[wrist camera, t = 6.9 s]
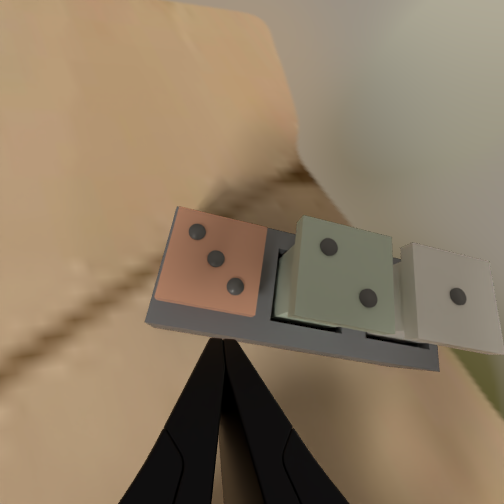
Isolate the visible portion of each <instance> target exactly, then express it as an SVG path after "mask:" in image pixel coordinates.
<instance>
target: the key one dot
mask: <svg viewBox="0 0 504 504" xmlns="http://www.w3.org/2000/svg"><path fill="white" fill-rule="evenodd" d="M393 284H394V312H395V334H389V335H381V334H375V333H370V332H366V336H367V337H372V338H378V339H383V340H389V341H394V342H400V343H429V344H434V345H440V346H445V347H450V348H456V349H462V350H467V351H472V352H478V353H483V354H493V355H496V354H497V355H504V344H503V338H502V332H501V327H500V320H499V315H498V309H497V303H496V297H495V291H494V284H493V279H492V273H491V267H490V261H486V260H482V259H478V258H473V257H470V256H466V255H462V254H458V253H454V252H450V251H445V250H441V249H437V248H434V247H430V246H426V245H421V244H418V243H413V242H412V243H410V244H408V245H405V246H403V247H401V262H399V263H397V264H394V265H393Z"/></svg>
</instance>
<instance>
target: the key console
mask: <svg viewBox="0 0 504 504" xmlns="http://www.w3.org/2000/svg"><path fill="white" fill-rule="evenodd" d="M178 209H179V207H177V208H176V212H175V215H174V219H173V223H172V226H171V230H170V233H169V237H168V240H167V244H166V248H165V251H164V255H163V258H162V262H161V266H160V269H159V273H158V276H157V280H156V283H155V287H154V291H153V294H152V298H151V301H150V305H149V309H148V312H147V316H146V319H145V323H147V324H149V325H150V326H152V327H154V328H160V329H166V330H172V331H178V332H184V333H190V334H196V335H202V336H208V337H214V338H222V339H225V338H227V339H235V340H236V341H238V342H244V343H250V344H256V345H262V346H268V347H274V348H280V349H286V350H292V351H298V352H304V353H310V354H317V355H323V356H329V357H335V358H341V359H347V360H353V361H359V362H365V363H371V364H377V365H383V366H389V367H397V368H407V369H417V370H428V371H438V372H440V371H439V359H438V347H437V345H434V344H429V343H400V342H394V341H389V340H383V341H379V340H374V339H368V338H365V337H366V332H364V331H359V330H354V329H348V328H343V327H335V332H330V331H324V330H319V329H313V328H308V327H302V326H297V325H291V324H286V323H280V322H275V321H270V318H271V310H272V302H273V293H274V285H275V277H276V269H277V260H278V259H279V258H281V257H282V256H283V255H284V254H285V253H286V252H287V251H288V250H289V249H290V248H291V247H292V246H293V245H294V244H295V237H296V234H291V233H287V232H283V231H279V230H274V229H270V228H267V235H266V242H265V249H264V256H263V263H262V271H261V278H260V285H259V292H258V299H257V306H256V313H255V316H253V317H247V316H242V315H236V314H231V313H225V312H219V311H214V310H208V309H203V308H197V307H192V306H186V305H181V304H175V303H170V302H165V301H159V300H156V299H155V297H154V296H155V292H156V289H157V285H158V282H159V278H160V274H161V271H162V267H163V263H164V260H165V256H166V253H167V249H168V245H169V242H170V238H171V234H172V231H173V227H174V224H175V220H176V216H177V213H178ZM399 262H401V259H397V258H393V265H394V264H397V263H399Z"/></svg>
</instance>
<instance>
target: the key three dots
mask: <svg viewBox="0 0 504 504" xmlns="http://www.w3.org/2000/svg"><path fill="white" fill-rule="evenodd" d="M267 228H268V227H265V226H260V225H256V224H252V223H248V222H244V221H239V220H235V219H231V218H227V217H222V216H218V215H214V214H210V213H206V212H201V211H197V210H193V209H189V208H184V207H180V206H179V209H178V213H177V216H176V220H175V224H174V227H173V231H172V234H171V238H170V242H169V245H168V249H167V253H166V256H165V260H164V263H163V267H162V271H161V274H160V278H159V282H158V285H157V289H156V292H155V296H154V297H155V299H156V300H159V301H165V302H170V303H175V304H181V305H186V306H192V307H197V308H203V309H208V310H214V311H219V312H225V313H231V314H236V315H242V316H247V317H253V316H255V313H256V306H257V299H258V292H259V285H260V278H261V271H262V263H263V256H264V249H265V242H266V235H267Z"/></svg>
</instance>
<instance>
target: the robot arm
mask: <svg viewBox="0 0 504 504" xmlns="http://www.w3.org/2000/svg"><path fill="white" fill-rule="evenodd" d="M218 435H219V447H220V459H221V472H222V485H223V498H224V504H349V502H348V501H347V500H346V499H345V497H344V496H343V495H342V494H341V492H340V491H339V490H338V489H337V487H336V486H335V485H334V484H333V482H332V481H331V480H330V479H329V477H328V476H327V475H326V473H325V472H324V471H323V469H322V468H321V467H320V465H319V464H318V463H317V461H316V460H315V459H314V457H313V456H312V454H311V453H310V452H309V450H308V449H307V447H306V446H305V444H304V443H303V441H302V440H301V438H300V437H299V435H298V434H297V432H296V431H295V429H292V425H291V423H290V422H289V420H288V419H287V417H286V416H285V414H284V412H283V411H282V409H281V408H280V406H279V405H278V403H277V402H276V400H275V399H274V397H273V396H272V394H271V393H270V391H269V390H268V388H267V386H266V385H265V383H264V382H263V380H262V379H261V377H260V376H259V374H258V373H257V371H256V370H255V368H254V367H253V365H252V363H251V362H250V360H249V359H248V357H247V356H246V354H245V353H244V351H243V350H242V348H241V347H240V345H239V344H238V342H237V341H236V340H235V339H227V338H225V339H223V340H222V338H210V339H209V341H208V343H207V344H206V346H205V348H204V350H203V352H202V354H201V356H200V358H199V360H198V362H197V364H196V366H195V368H194V370H193V372H192V374H191V375H190V377H189V379H188V381H187V383H186V385H185V387H184V389H183V391H182V393H181V395H180V397H179V399H178V401H177V403H176V405H175V406H174V408H173V410H172V412H171V414H170V416H169V418H168V420H167V422H166V424H165V426H164V429H163V430H162V431H161V433H160V435H159V437H158V439H157V441H156V443H155V445H154V446H153V448H152V450H151V452H150V454H149V455H148V457H147V459H146V461H145V463H144V464H143V466H142V468H141V469H140V471H139V472H138V474H137V476H136V477H135V479H134V480H133V482H132V483H131V485H130V487H129V488H128V490H127V491H126V493H125V494H124V496H123V497H122V499H121V500H120V502H119V503H118V504H211V501H212V492H213V482H214V473H215V464H216V454H217V445H218Z"/></svg>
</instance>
